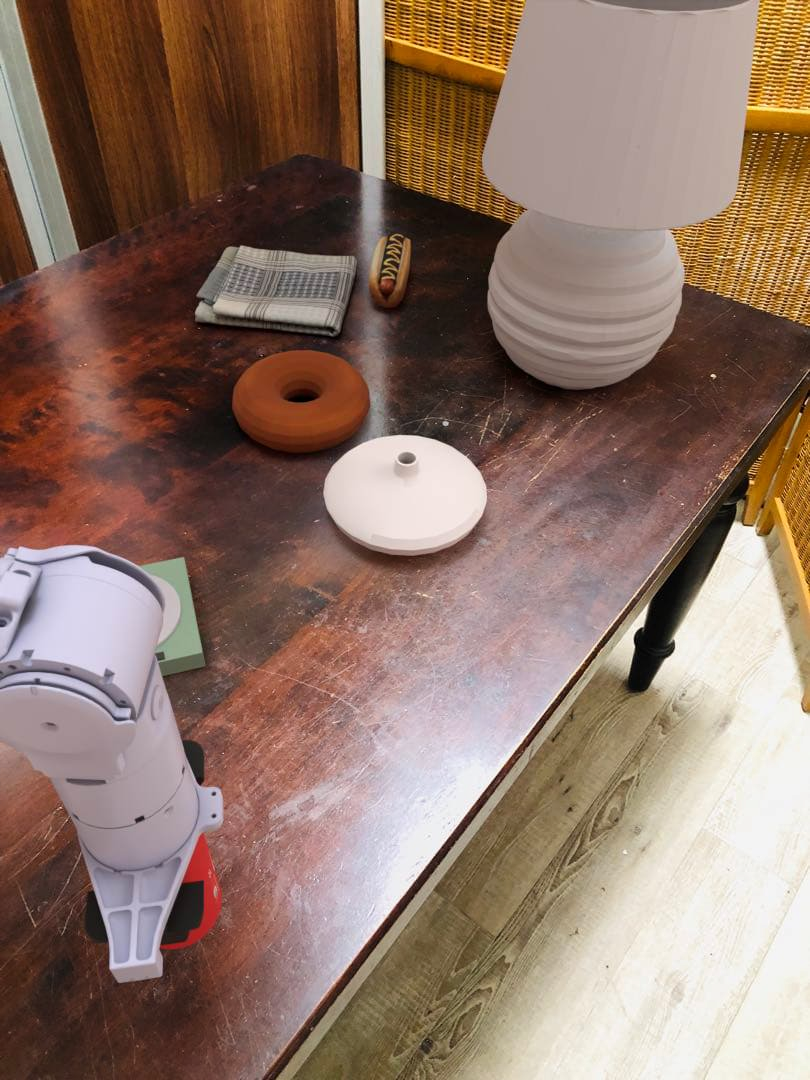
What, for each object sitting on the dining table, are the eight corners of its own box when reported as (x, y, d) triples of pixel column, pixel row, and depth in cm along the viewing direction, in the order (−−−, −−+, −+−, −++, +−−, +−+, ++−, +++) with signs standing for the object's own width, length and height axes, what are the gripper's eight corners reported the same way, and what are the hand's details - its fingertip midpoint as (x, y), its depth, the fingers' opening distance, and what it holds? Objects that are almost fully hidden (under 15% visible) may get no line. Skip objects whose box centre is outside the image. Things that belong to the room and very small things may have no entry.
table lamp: (711, 353, 107) (839, -25, 78) (614, 461, 93) (727, 47, 64) (533, 283, 117) (587, -76, 88) (421, 370, 103) (442, -23, 74)
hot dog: (363, 314, 111) (363, 279, 107) (375, 261, 120) (376, 226, 116) (403, 318, 110) (404, 282, 107) (412, 264, 119) (413, 229, 116)
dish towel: (360, 266, 119) (360, 244, 116) (339, 341, 106) (339, 318, 104) (225, 255, 119) (222, 232, 117) (189, 328, 107) (185, 305, 105)
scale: (68, 698, 71) (61, 681, 69) (62, 596, 78) (55, 579, 76) (205, 666, 73) (201, 649, 72) (187, 571, 81) (183, 553, 79)
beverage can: (122, 900, 54) (75, 809, 45) (200, 853, 56) (169, 758, 47) (159, 974, 51) (116, 893, 42) (239, 921, 53) (214, 834, 44)
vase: (305, 477, 90) (301, 423, 85) (447, 445, 94) (452, 392, 89) (353, 589, 80) (352, 536, 75) (511, 548, 84) (520, 494, 79)
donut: (271, 481, 89) (267, 443, 86) (212, 402, 98) (206, 364, 94) (396, 434, 95) (397, 397, 91) (330, 363, 103) (328, 326, 100)
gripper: (211, 916, 36) (244, 1013, 46) (210, 636, 46) (237, 765, 56) (32, 941, 35) (105, 1034, 45) (70, 650, 45) (123, 779, 55)
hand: (170, 887), depth 51 cm, fingers closed on beverage can, 5 cm apart
